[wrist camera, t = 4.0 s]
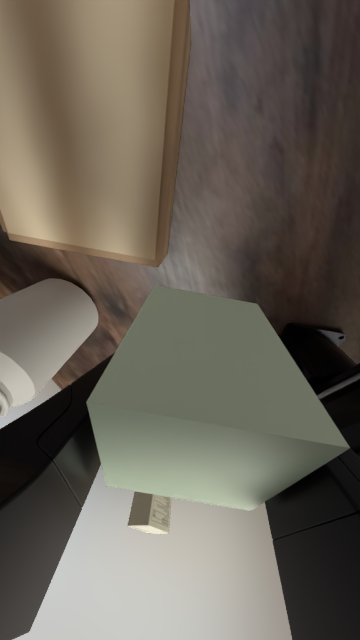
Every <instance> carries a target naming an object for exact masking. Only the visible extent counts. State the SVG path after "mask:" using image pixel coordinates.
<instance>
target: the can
mask: <svg viewBox="0 0 360 640" xmlns="http://www.w3.org/2000/svg"><path fill="white" fill-rule="evenodd" d="M97 324H98V312H97V309H96V306H95V304H94V303H93V301H92V300H91V298H90V297H89V296H88V295H87V294H86V293H85V292H84V291H83V290H82V289H81V288H79V287H77V286H76V285H74V284H73V283H71V282H68V281H65V280H62V279H51V278H49V279H46V280H43V281H41V282H38V283H36V284H34V285H31V286H29V287H27V288H25V289H22V290H20V291H18V292H15V293H13V294H11V295H9V296H6V297H4V298H2V299H0V418H1V417H3V416H5V415H6V414H7V413H8V412H9V408H12V407H16V406H19V405H23V404H26V403H28V402H29V401H31V400H33V398H34V397H35V396H36V395H37V394H38V393H39V392H40V391H41V389H42V388H43V387H44V386H45V385H46V384H47V383H48V382H49V380H50V379H51V378H52V377H53V376H54V375H55V374H56V373H57V371H58V370H59V369H60V368H61V367H62V366H63V365H64V363H65V362H66V361H67V360H68V359H69V358H70V357H71V356H72V354H73V353H74V352H75V351H76V350H77V349H78V348H79V347H80V345H81V344H82V343H83V342H84V341H85V340H86V339H87V337H88V336H89V335H90V334H91V333H92V332H93V331H94V329H95V328H96V326H97Z"/></svg>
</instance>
